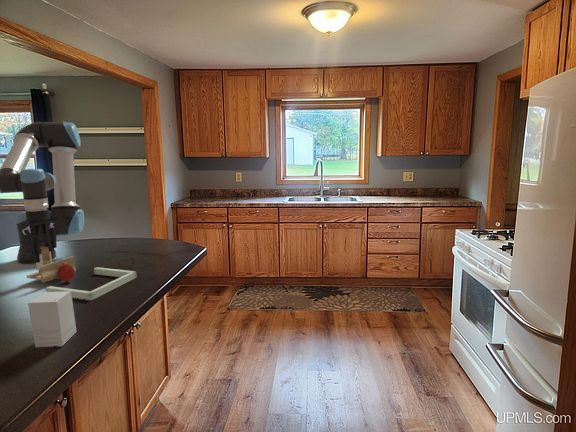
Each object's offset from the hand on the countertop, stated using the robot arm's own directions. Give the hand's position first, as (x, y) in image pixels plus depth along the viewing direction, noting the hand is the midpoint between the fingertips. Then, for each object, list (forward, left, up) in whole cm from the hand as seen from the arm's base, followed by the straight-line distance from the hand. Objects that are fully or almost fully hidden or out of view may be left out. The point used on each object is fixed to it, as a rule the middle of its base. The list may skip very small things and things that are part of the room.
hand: (44, 268), depth 143 cm
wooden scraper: (+2, 0, -2) cm, 3 cm away
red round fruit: (+11, 0, -5) cm, 12 cm away
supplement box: (+45, -35, -5) cm, 57 cm away
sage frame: (+24, 0, -5) cm, 24 cm away
